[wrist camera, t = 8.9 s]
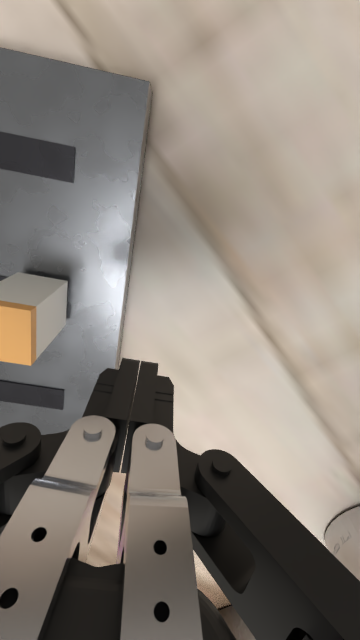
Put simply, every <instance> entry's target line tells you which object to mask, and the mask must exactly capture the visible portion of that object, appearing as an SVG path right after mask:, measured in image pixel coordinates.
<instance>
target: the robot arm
mask: <svg viewBox="0 0 360 640" xmlns="http://www.w3.org/2000/svg"><path fill="white" fill-rule="evenodd" d="M139 363H140V361H139V360H132V359H126V358H122V361H121V365H120V368H119V370H118V369H112V368H107V369H106V370H104V371H103V372H102V373H100V374H99V377H98V379H97V382H96V384H95V387H94V389H93V391H92V394H91V396H90V399H89V401H88V404H87V406H86V409H85V411H84V413H83V416H82V418H80V419H78V420H77V421H76V422H75V423H74V424H73V425H72V426H71V428H70V429H69V430H67V431H64V432H60V433H54V434H46V435H41V432H40V430H39V429H38V428H37V427H36V426H34V425H33V424H30V423H25V422H16V423H11V424H7V425H5V426H2V427H0V640H236V638H235V636H234V635H233V633H232V632H231V630H230V628H229V627H228V625H227V623H226V622H225V620H224V619H223V617H222V616H221V614H220V613H219V611H218V610H217V608H216V607H215V606H214V605H213V603H212V602H211V601H210V600H209V599H208V598H207V597H206V596H205V595H204V594H203V593H202V592H201V591H200V590H198V589H197V582H196V573H195V564H194V555H193V550H194V551H195V552H196V554H197V555H198V557H199V558H200V560H201V561H202V563H203V564H204V565H205V567H206V568H207V570H208V571H209V573H210V574H211V576H212V577H213V578H214V580H215V581H216V583H217V584H218V586H219V587H220V588H221V590H222V591H223V593H224V594H225V596H226V597H227V599H228V600H229V601H230V603H231V604H232V606H233V607H234V609H235V610H236V611H237V613H238V614H239V616H240V617H241V619H242V620H243V622H244V623H245V624H246V626H247V627H248V629H249V630H250V632H251V633H252V634H253V636H254V637H255V639H256V640H360V506H359V507H355V508H353V509H351V510H349V511H346V512H345V513H343V514H341V515H340V516H338V517H337V518H336V519H335V520H334V521H333V522H332V523H331V524H330V526H329V527H328V528H327V531H326V533H325V543H326V546H327V548H328V549H327V548H326V547H325V546H324V545H323V544H322V543H321V542H320V541H319V540H318V539H317V538H316V537H315V536H314V535H313V534H312V533H311V532H310V531H309V530H308V529H307V528H306V527H305V526H303V525H302V524H301V523H300V522H299V521H298V520H297V519H296V518H295V517H294V516H293V515H292V514H291V513H290V512H289V511H288V510H287V509H286V508H285V507H284V506H283V505H282V504H281V503H280V502H279V501H278V500H277V499H276V498H275V497H274V496H273V495H272V494H271V493H270V492H269V491H268V490H267V489H266V488H265V487H264V486H263V485H262V484H261V483H260V482H259V481H258V480H257V479H256V478H255V477H254V476H253V475H252V474H251V473H250V472H249V471H248V470H247V469H246V468H245V467H244V466H243V465H242V464H241V463H240V462H239V461H238V460H237V459H236V458H234V457H233V456H232V455H231V454H229V453H227V452H225V451H222V450H216V449H213V450H208V451H205V452H204V453H203V454H202V455H201V456H200V455H197V454H195V453H193V452H190V451H188V450H186V449H185V448H183V447H182V446H181V445H180V444H179V443H178V442H177V440H176V439H175V436H174V434H173V394H174V385H173V384H172V382H171V380H170V378H169V377H164V376H157V372H158V363H152V362H145V361H141V365H140V370H139ZM138 370H139V375H138ZM137 376H138V380H137ZM136 382H137V385H136ZM135 388H136V390H135ZM134 394H135V395H134ZM128 425H129V426H128ZM127 430H128V432H127ZM126 435H127V438H126ZM125 440H126V445H125ZM124 445H125V451H124V457H123V463H122V469H121V473H126V479H125V485H124V491H123V497H122V507H121V518H120V529H119V540H118V551H117V560H116V564H114V565H109V566H103V567H94V566H91V565H89V564H87V563H86V560H87V556H88V553H89V549H90V546H91V543H92V540H93V536H94V533H95V530H96V527H97V524H98V520H99V517H100V514H101V511H102V507H103V504H104V501H105V498H106V494H107V489H108V487H109V485H110V482H111V477H112V473H113V472H119V470H120V465H121V460H122V455H123V450H124Z"/></svg>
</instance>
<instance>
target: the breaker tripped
mask: <svg viewBox="0 0 360 640" xmlns="http://www.w3.org/2000/svg"><path fill="white" fill-rule="evenodd" d="M67 286H68V281H65V280H60V279H54V278H48V277H42V276H37V275H31V274H25V273H20V272H17V273H16V274H14V275H12V276H10V277H8V278H6V279H4V280H2V281H0V361H3V362H10V363H16V364H23V365H29V366H31V365H32V364H33V363H34V362H35V361H36V359H37V358H38V357H39V356H40V355H41V353H42V352H43V351H44V350H45V349H46V347H47V346H48V345H49V344H50V343H51V342H52V340H53V339H54V338H55V337H56V336H57V334H58V333H59V332H60V331H61V330H62V328H63V327H64V326H65V325H66V308H67Z"/></svg>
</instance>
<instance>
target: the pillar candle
mask: <svg viewBox="0 0 360 640" xmlns="http://www.w3.org/2000/svg"><path fill="white" fill-rule="evenodd" d="M219 613H220V614H221V616H222V617H223V619H224V620H225V622H226V623H227V625H228V627H229V628H230V630H231V632H232V633H233V635H234V636H235V638H236V640H256V639H255V637H254V636H253V634H252V633H251V632H250V630H249V629H248V627H247V626H246V624H245V623H244V622H243V620H242V619H241V617H240V616H239V614H238V613H237V611H236V610H235V609H234V607H233V606H229V607H227V608H224V609H222V610H219Z"/></svg>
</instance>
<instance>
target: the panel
mask: <svg viewBox="0 0 360 640" xmlns="http://www.w3.org/2000/svg"><path fill="white" fill-rule="evenodd" d="M152 94H153V93H152V89H151V86H150V82H149V81H145V80H140V79H136V78H132V77H127V76H123V75H118V74H114V73H110V72H105V71H101V70H97V69H92V68H88V67H83V66H79V65H75V64H70V63H66V62H62V61H57V60H53V59H48V58H44V57H40V56H35V55H31V54H27V53H22V52H18V51H13V50H9V49H5V48H0V281H2V280H4V279H6V278H8V277H10V276H12V275H14V274H16V273H17V272H20V273H25V274H31V275H37V276H42V277H48V278H54V279H60V280H65V281H68V286H67V308H66V325H65V326H64V327H63V328H62V330H61V331H60V332H59V333H58V334H57V336H56V337H55V338H54V339H53V340H52V342H51V343H50V344H49V345H48V346H47V347H46V349H45V350H44V351H43V352H42V353H41V355H40V356H39V357H38V358H37V359H36V361H35V362H34V363H33V364H32V365H31V366H29V365H23V364H16V363H10V362H3V361H0V427H2V426H5V425H7V424H11V423H16V422H25V423H30V424H33V425H34V426H36V427H37V428H38V429H39V430H40V432H41V435H46V434H54V433H60V432H64V431H67V430H69V429H70V428H71V426H72V425H73V424H74V423H75V422H76V421H77V420H78V419H80V418H82V416H83V413H84V411H85V409H86V406H87V404H88V401H89V399H90V396H91V394H92V391H93V389H94V387H95V384H96V382H97V379H98V377H99V374H100V373H102V372H103V371H104V370H106V369H107V368H112V369H118V365H119V357H120V349H121V341H122V333H123V325H124V317H125V309H126V301H127V293H128V285H129V277H130V269H131V261H132V253H133V245H134V237H135V229H136V221H137V213H138V205H139V198H140V190H141V182H142V174H143V166H144V158H145V150H146V142H147V134H148V126H149V118H150V110H151V102H152Z"/></svg>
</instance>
